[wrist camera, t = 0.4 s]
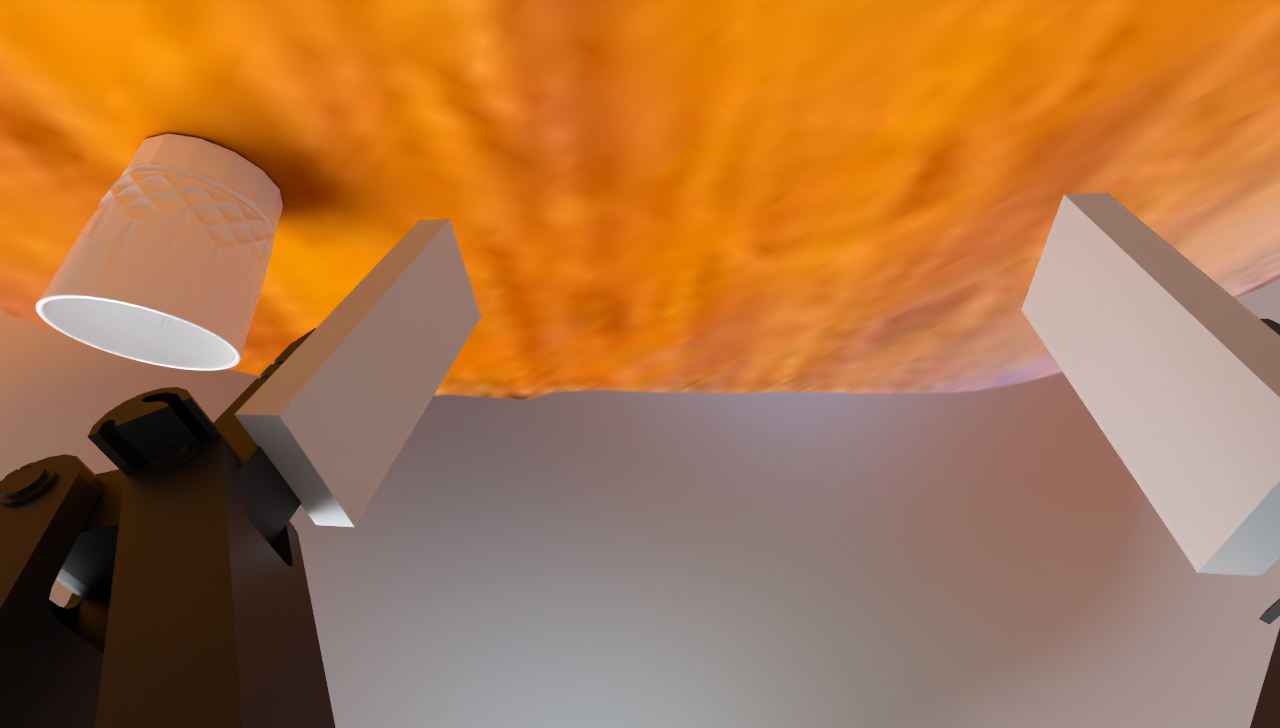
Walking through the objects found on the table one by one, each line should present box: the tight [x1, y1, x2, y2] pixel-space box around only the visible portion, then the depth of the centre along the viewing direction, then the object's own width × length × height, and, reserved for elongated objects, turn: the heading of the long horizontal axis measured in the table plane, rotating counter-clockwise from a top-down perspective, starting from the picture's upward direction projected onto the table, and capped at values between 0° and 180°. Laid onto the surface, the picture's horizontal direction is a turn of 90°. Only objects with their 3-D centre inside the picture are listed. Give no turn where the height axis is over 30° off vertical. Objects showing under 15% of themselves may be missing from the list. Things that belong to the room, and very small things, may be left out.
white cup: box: [36, 134, 283, 371], centre depth 30 cm, size 8×8×10 cm
